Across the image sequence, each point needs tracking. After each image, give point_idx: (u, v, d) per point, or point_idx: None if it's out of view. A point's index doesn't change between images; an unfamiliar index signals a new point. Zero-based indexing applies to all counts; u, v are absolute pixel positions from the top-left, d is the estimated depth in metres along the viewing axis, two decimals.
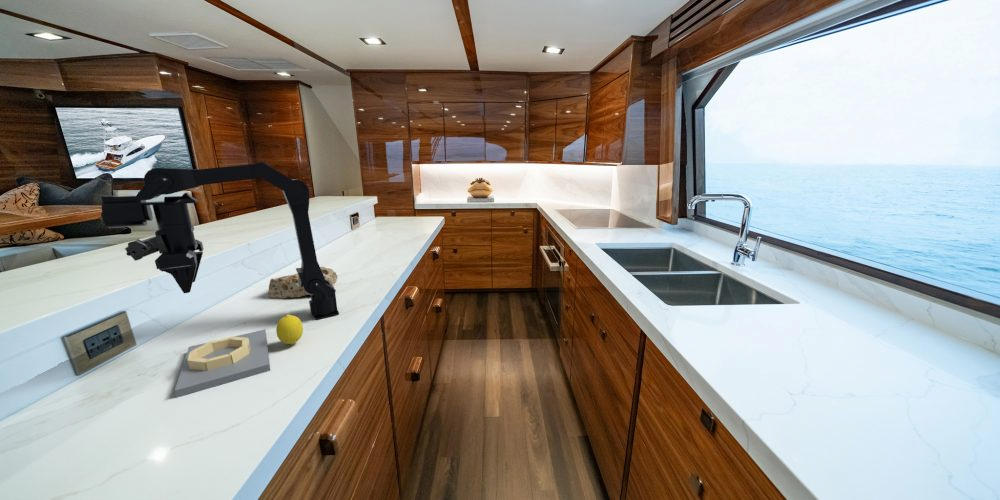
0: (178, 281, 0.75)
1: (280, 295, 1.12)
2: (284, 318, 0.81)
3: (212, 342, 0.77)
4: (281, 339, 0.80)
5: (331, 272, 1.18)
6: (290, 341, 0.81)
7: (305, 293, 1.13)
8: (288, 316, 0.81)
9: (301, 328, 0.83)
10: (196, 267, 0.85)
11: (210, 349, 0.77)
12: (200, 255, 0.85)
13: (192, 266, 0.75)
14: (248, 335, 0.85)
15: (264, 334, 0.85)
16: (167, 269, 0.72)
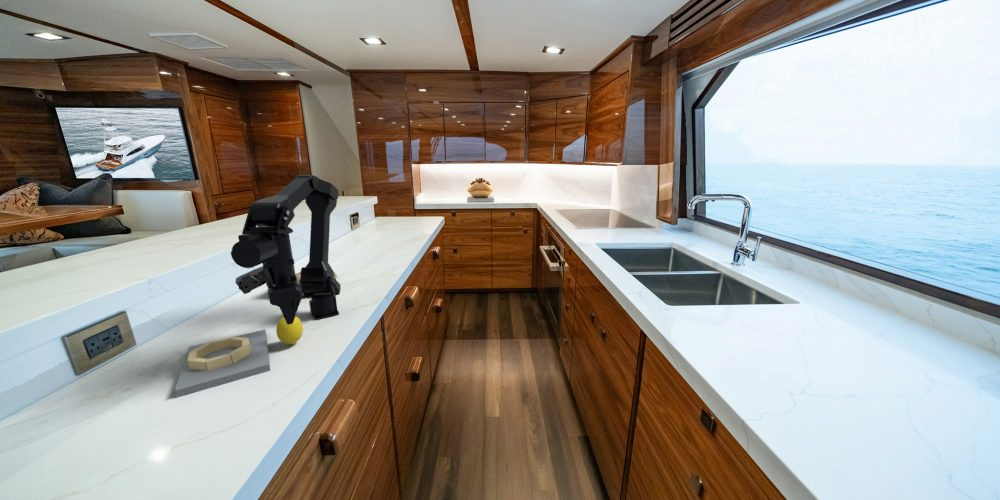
0: (284, 313, 0.76)
1: None
2: (284, 318, 0.81)
3: (212, 342, 0.77)
4: (281, 339, 0.80)
5: None
6: (290, 341, 0.81)
7: None
8: None
9: (301, 328, 0.83)
10: None
11: (210, 349, 0.77)
12: None
13: (299, 299, 0.75)
14: (248, 335, 0.85)
15: (264, 334, 0.85)
16: (278, 303, 0.73)
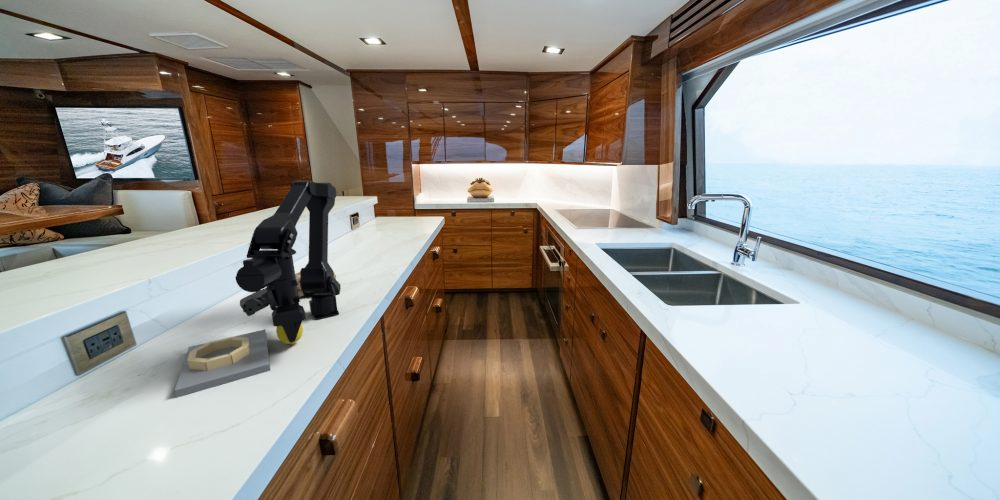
0: (287, 332, 0.79)
1: None
2: None
3: (212, 342, 0.77)
4: (281, 339, 0.80)
5: None
6: None
7: None
8: None
9: (301, 328, 0.83)
10: None
11: (210, 349, 0.77)
12: None
13: None
14: (248, 335, 0.85)
15: (264, 334, 0.85)
16: None
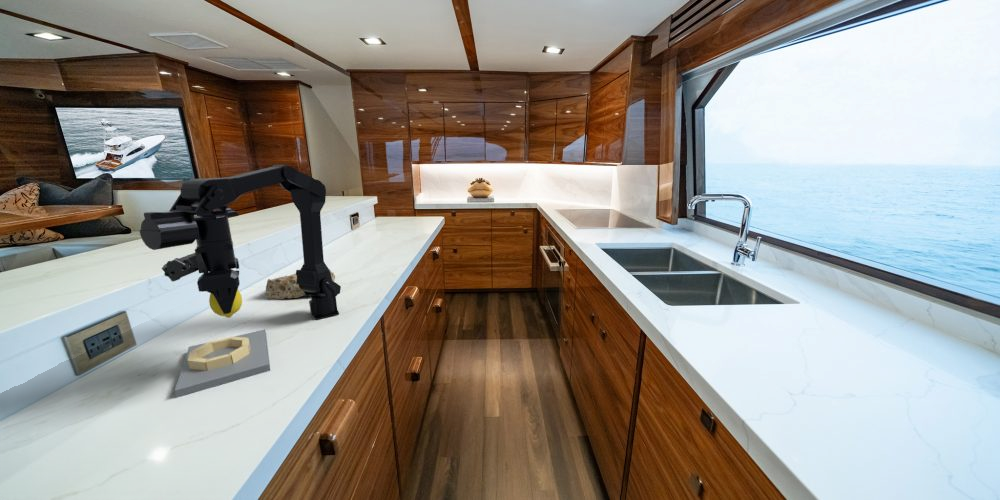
0: (219, 301, 0.70)
1: (278, 296, 1.12)
2: None
3: (212, 342, 0.77)
4: (214, 310, 0.71)
5: None
6: None
7: (303, 294, 1.12)
8: None
9: (239, 299, 0.74)
10: None
11: (210, 349, 0.77)
12: (237, 275, 0.77)
13: None
14: (248, 335, 0.85)
15: (264, 334, 0.85)
16: None
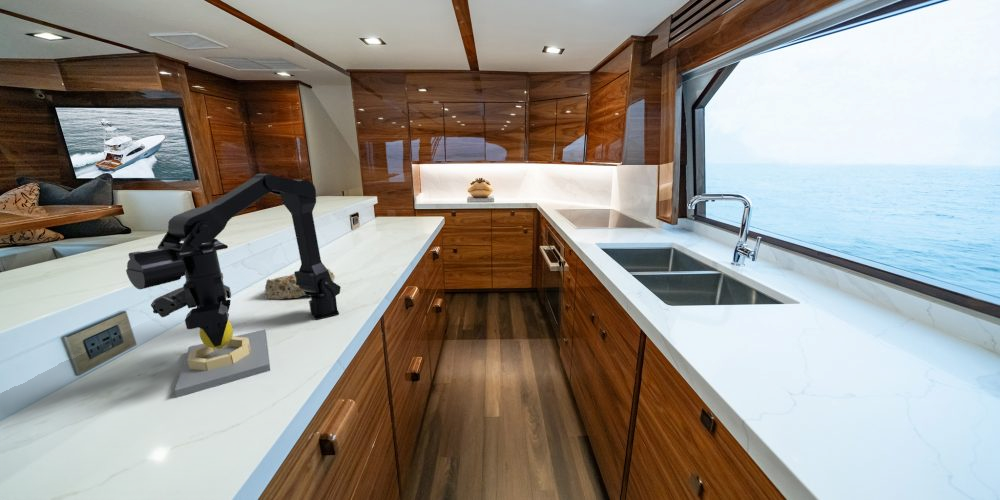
0: (209, 335, 0.70)
1: (277, 296, 1.12)
2: None
3: None
4: (205, 343, 0.72)
5: None
6: None
7: (303, 294, 1.12)
8: None
9: (229, 330, 0.74)
10: None
11: (210, 349, 0.77)
12: (228, 305, 0.77)
13: None
14: (248, 335, 0.85)
15: (264, 334, 0.85)
16: None
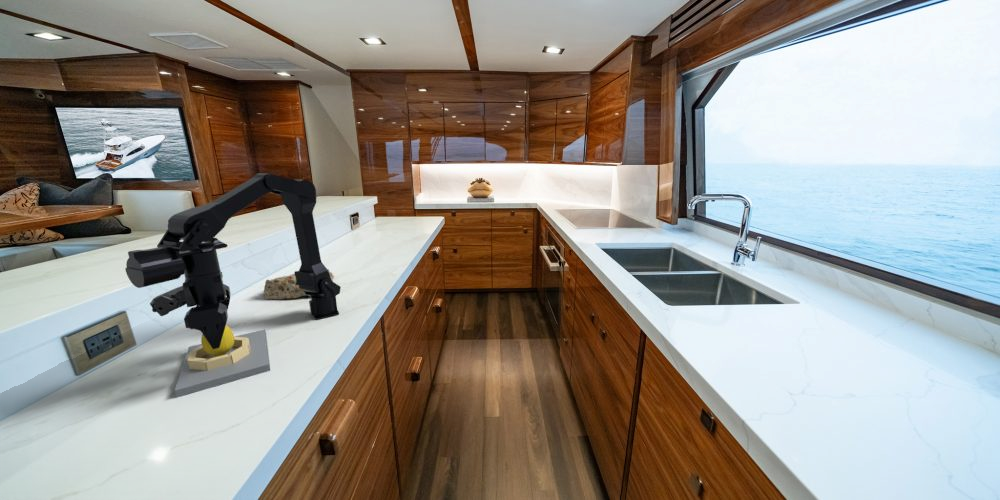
0: (207, 337, 0.69)
1: (276, 296, 1.11)
2: None
3: None
4: (206, 351, 0.72)
5: None
6: (217, 353, 0.73)
7: (302, 294, 1.12)
8: None
9: (231, 338, 0.75)
10: None
11: None
12: (228, 302, 0.78)
13: (223, 321, 0.68)
14: (248, 335, 0.85)
15: (264, 334, 0.85)
16: (197, 326, 0.66)
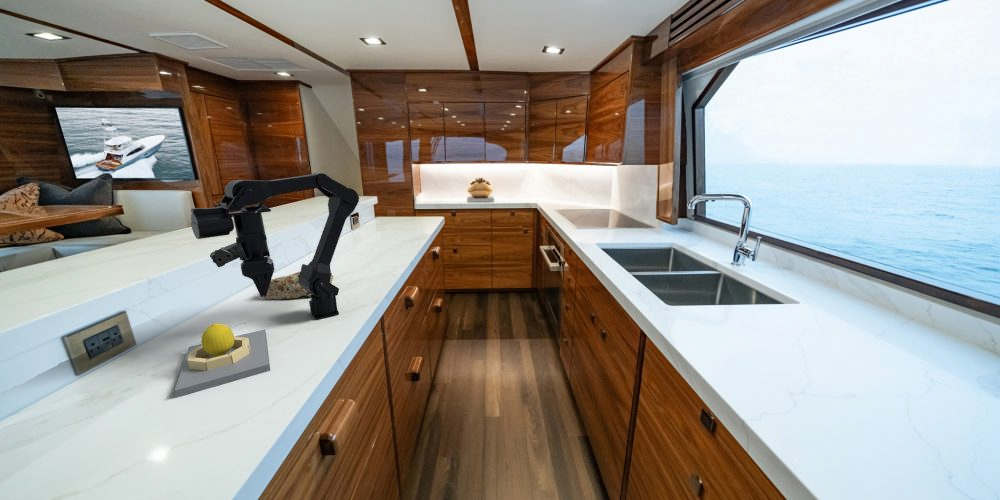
0: (257, 286, 0.81)
1: (276, 296, 1.11)
2: (210, 327, 0.73)
3: None
4: (206, 351, 0.72)
5: None
6: (217, 353, 0.73)
7: (302, 294, 1.12)
8: (215, 325, 0.73)
9: (231, 338, 0.75)
10: None
11: None
12: None
13: (271, 271, 0.80)
14: (248, 335, 0.85)
15: (264, 334, 0.85)
16: (250, 275, 0.78)
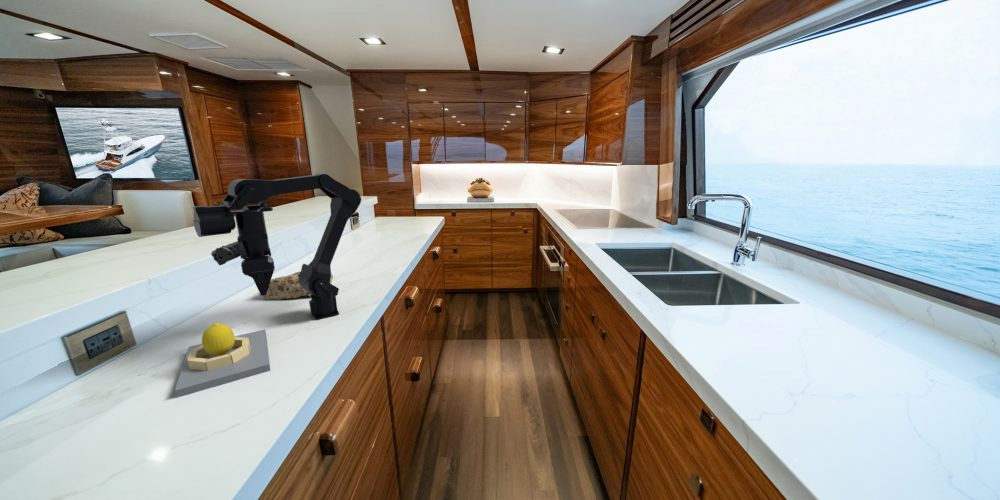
0: (257, 284, 0.81)
1: (276, 296, 1.11)
2: (211, 327, 0.73)
3: None
4: (207, 350, 0.72)
5: None
6: (217, 353, 0.73)
7: (301, 294, 1.12)
8: (216, 325, 0.73)
9: (231, 338, 0.75)
10: None
11: None
12: None
13: (271, 270, 0.80)
14: (248, 335, 0.85)
15: (264, 334, 0.85)
16: (250, 273, 0.78)
